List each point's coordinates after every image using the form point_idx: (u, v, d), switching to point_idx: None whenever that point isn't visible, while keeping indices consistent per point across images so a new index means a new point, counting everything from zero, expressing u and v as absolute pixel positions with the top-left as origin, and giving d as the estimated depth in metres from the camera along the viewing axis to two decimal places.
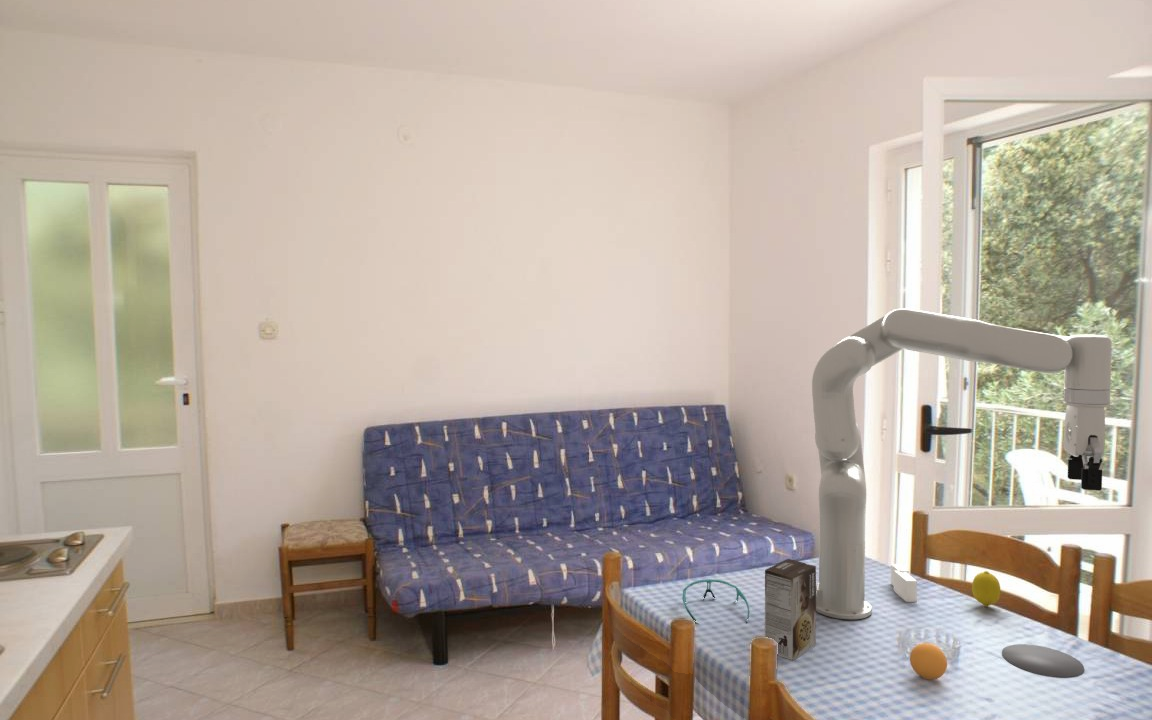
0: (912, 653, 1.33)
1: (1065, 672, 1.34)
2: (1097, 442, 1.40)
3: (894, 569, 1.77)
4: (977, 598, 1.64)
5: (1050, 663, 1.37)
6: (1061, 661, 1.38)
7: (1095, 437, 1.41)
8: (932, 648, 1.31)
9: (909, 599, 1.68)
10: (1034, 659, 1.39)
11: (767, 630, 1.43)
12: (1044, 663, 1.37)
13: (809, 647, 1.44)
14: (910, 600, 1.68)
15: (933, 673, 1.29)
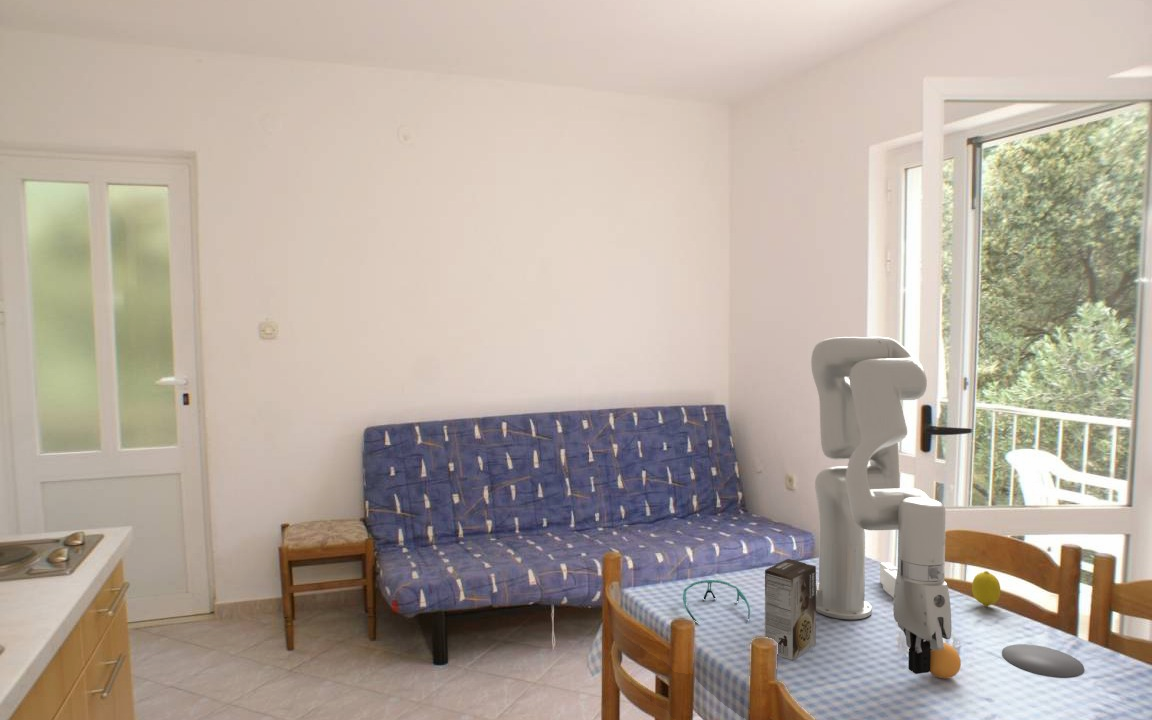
0: None
1: (1065, 672, 1.34)
2: None
3: (883, 567, 1.78)
4: (977, 598, 1.64)
5: (1050, 663, 1.37)
6: (1061, 661, 1.38)
7: None
8: (954, 649, 1.32)
9: None
10: (1034, 659, 1.39)
11: (767, 630, 1.43)
12: (1044, 663, 1.37)
13: (809, 647, 1.44)
14: None
15: (945, 668, 1.30)
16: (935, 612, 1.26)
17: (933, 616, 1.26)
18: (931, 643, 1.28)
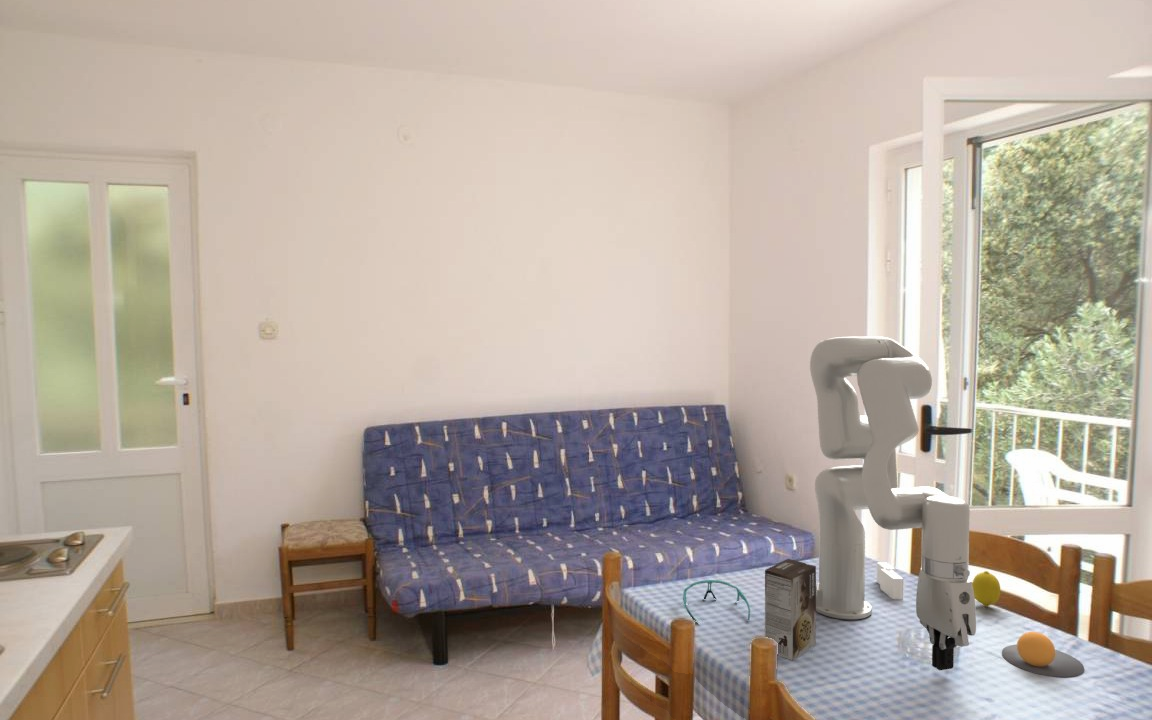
0: (1030, 632, 1.37)
1: (1065, 672, 1.34)
2: None
3: (880, 567, 1.79)
4: (977, 598, 1.64)
5: (1050, 663, 1.37)
6: (1061, 661, 1.38)
7: None
8: None
9: (896, 597, 1.69)
10: None
11: (767, 630, 1.43)
12: None
13: (809, 647, 1.44)
14: (897, 598, 1.69)
15: (1041, 655, 1.34)
16: (960, 609, 1.27)
17: (959, 613, 1.27)
18: (956, 640, 1.29)
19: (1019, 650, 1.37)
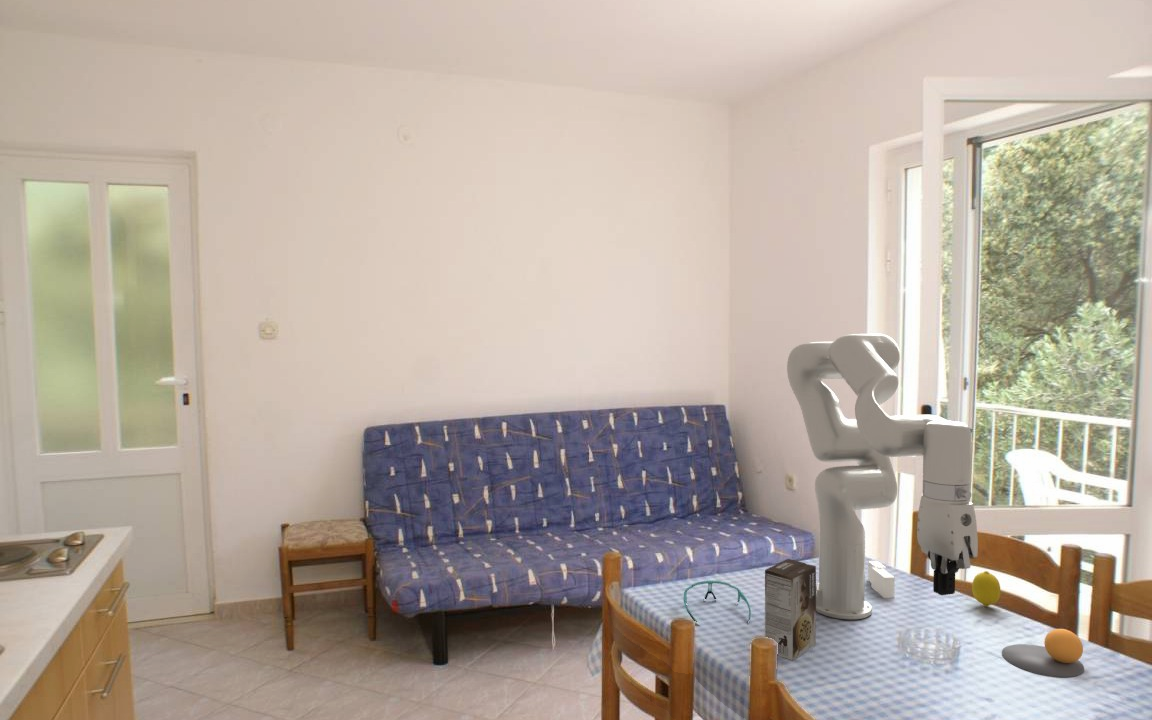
0: None
1: (1065, 672, 1.34)
2: None
3: (871, 566, 1.79)
4: (977, 598, 1.64)
5: (1050, 663, 1.37)
6: None
7: None
8: None
9: (887, 596, 1.70)
10: (1034, 659, 1.39)
11: (767, 630, 1.43)
12: (1044, 663, 1.37)
13: (809, 647, 1.44)
14: (888, 596, 1.70)
15: (1079, 645, 1.35)
16: (962, 531, 1.27)
17: (960, 535, 1.27)
18: (957, 562, 1.28)
19: (1065, 629, 1.39)
